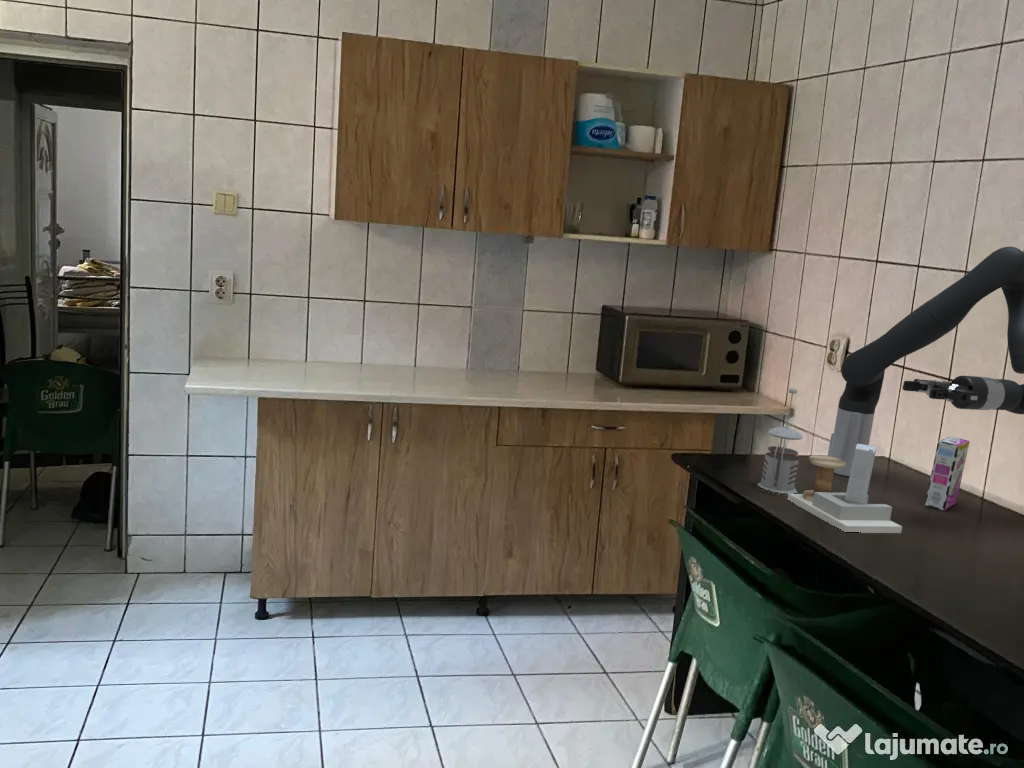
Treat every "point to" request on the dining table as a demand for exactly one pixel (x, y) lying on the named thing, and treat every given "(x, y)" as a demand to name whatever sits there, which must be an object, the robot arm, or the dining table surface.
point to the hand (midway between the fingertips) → (917, 389)
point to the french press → (781, 461)
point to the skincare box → (860, 473)
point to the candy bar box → (947, 473)
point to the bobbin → (823, 474)
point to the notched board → (846, 523)
